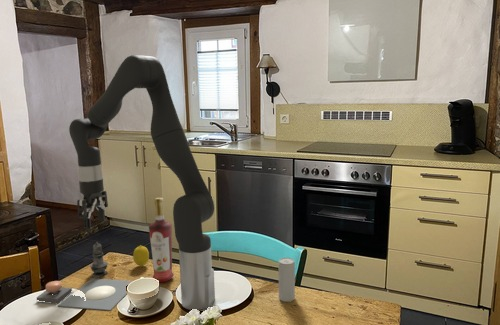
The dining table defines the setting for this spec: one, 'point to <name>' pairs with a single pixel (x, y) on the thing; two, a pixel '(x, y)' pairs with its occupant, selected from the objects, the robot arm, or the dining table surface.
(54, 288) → the button
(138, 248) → the lemon
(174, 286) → the dining table surface
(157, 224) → the liquor
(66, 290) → the button housing
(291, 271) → the beverage can
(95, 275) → the chess piece
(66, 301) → the slate board
